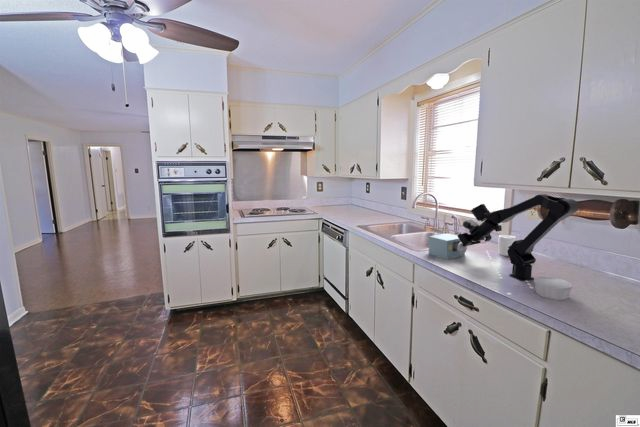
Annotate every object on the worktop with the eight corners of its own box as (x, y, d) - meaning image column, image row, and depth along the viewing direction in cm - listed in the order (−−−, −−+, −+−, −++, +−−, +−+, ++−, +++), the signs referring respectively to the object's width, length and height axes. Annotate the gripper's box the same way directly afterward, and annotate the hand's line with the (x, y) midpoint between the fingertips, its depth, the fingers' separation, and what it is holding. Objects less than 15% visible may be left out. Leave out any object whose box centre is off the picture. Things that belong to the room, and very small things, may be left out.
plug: (466, 253, 153) (467, 241, 152) (458, 254, 150) (459, 243, 149) (444, 246, 166) (445, 236, 165) (436, 248, 163) (437, 237, 162)
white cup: (513, 253, 160) (514, 235, 159) (515, 257, 153) (516, 238, 152) (496, 251, 164) (497, 234, 162) (497, 255, 157) (498, 237, 156)
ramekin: (550, 287, 115) (552, 275, 114) (579, 300, 104) (581, 286, 103) (525, 290, 113) (526, 277, 113) (551, 303, 102) (553, 288, 102)
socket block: (465, 255, 159) (466, 237, 157) (446, 259, 153) (447, 240, 151) (446, 250, 170) (447, 233, 168) (428, 253, 164) (429, 236, 162)
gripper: (487, 213, 147) (466, 230, 159) (461, 217, 139) (442, 235, 151) (501, 231, 142) (479, 248, 153) (475, 236, 134) (454, 253, 145)
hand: (463, 245), depth 151 cm, fingers closed, pressing on plug
